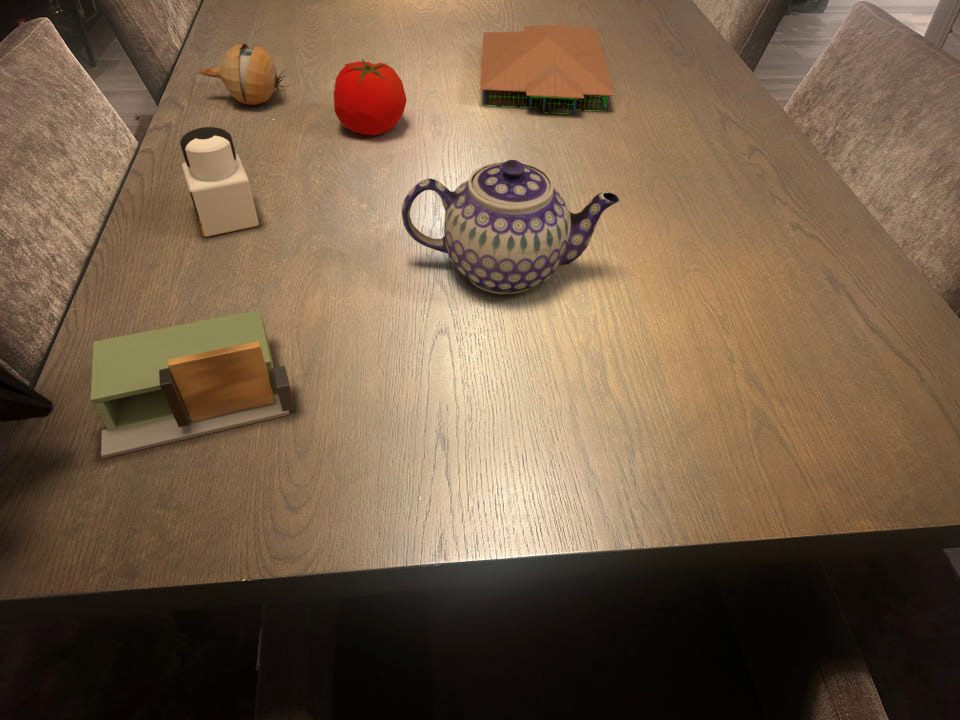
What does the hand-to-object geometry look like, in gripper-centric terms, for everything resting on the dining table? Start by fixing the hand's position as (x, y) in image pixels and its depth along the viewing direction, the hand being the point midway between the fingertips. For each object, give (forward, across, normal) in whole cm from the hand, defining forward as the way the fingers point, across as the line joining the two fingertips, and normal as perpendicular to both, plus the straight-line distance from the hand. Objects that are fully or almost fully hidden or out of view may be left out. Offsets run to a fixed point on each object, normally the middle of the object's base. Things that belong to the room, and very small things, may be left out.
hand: (50, 409), depth 58 cm
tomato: (+34, +56, -25) cm, 69 cm away
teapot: (+38, +14, -30) cm, 51 cm away
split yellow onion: (+21, +70, -12) cm, 74 cm away
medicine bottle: (+16, +36, -7) cm, 40 cm away
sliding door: (+14, 0, -6) cm, 15 cm away
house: (+58, +66, -50) cm, 101 cm away
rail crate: (+12, +4, -3) cm, 13 cm away
